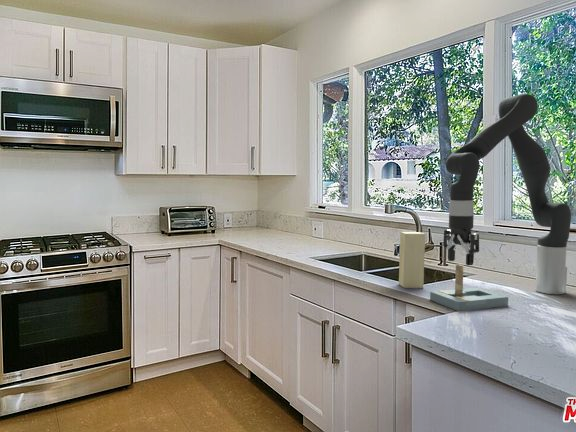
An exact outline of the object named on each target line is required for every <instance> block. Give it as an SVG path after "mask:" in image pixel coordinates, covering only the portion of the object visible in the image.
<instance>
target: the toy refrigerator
mask: <svg viewBox="0 0 576 432" xmlns="http://www.w3.org/2000/svg"><path fill="white" fill-rule="evenodd" d="M425 248H426V233H424V232H421V231H418V232H417V231H400V232H399V260H398V261H399V263H398V264H399V268H398V269H399V270H398V272H399V273H398V285H399V286H400V287H402V288H403V289H404V288H405V289H410V288H411V289H414V288H415V289H424V282H425V281H424V279H425V278H424V277H425V251H426V249H425Z"/></svg>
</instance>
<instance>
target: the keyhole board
mask: <svg viewBox="0 0 576 432" xmlns="http://www.w3.org/2000/svg"><path fill="white" fill-rule="evenodd" d="M429 292H430V293H429V294H430V295H429V300H430V301H432V302H435V303H437V304H439V305H442V306H445V307H446V308H450V309H452V310H454V311H456V312H461V311H462V312H463V311H473V310H479V309H482V310H483V309H489V308H499V307H500V308H501V307H508V306H509V296H507V295H506V296H505V295H503V294H500V293H497V292H493V291H490V290H486V289H484V288H480V287H469V288H468V287H467V288H463V296H462V297H459V296H458V297H455V288H454V289H446V290H445V289H444V290H441V289H440V290H434V291H433V290H432V291H429Z"/></svg>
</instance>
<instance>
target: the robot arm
mask: <svg viewBox="0 0 576 432" xmlns="http://www.w3.org/2000/svg"><path fill="white" fill-rule="evenodd" d="M538 108H539V104H538V100H537V99H536V97H535V96H534V95H533V94H530V93H529V94H528V93H524V94H517V95H513V96H508V97H505V98H503V99H501V100H500V102H499V103H498V107H497V111H498V117H499V119H498V120H496V121H495V122H493V123H491V124H489V125H488V126H487V127H485V128H483V129H482V130H480V131H479V132H478V133H477V134H476V135H475V136H474V137H472V139H471V140H470V141H469V142H468V143H466V144H464V145H463V146H461V147H459V148H458V149H456V150H455V151H454V152H452V153H450V155H449V156H448V157H447V159H446V161H445V170H446V171H447V172H448V173H449V174H451V175H455V176H457V175H458V176H459V175H460V176H459V179H458V181H456V182H453V183H452V184H451V185H450V191H449V192H450V194H449V198H450V199H449V200H450V201H449V207H448V228H449V229H444V231H443V242H442V245H443V248H446V249H447V260H448V261H450V262H454V261H455V259H456V250H455V249H456V247H457V246H458V245H459V246H461V247H462V248H463V249H464V251H465V253H466V254H465V265H466V266H473V265H474V259H475V257H474V256H475V254H476V253H479V252H480V234H479V233H472V229H473V228H474V215H475V213H474V212H475V210H474V207H475V206H474V187H475V184H476V181H477V179H478V178H477V177H478V175H479V171H480V160H482V159H483V158H485V157H487V156H488V154H489V153H491V151H492V150H494V148H496V147H497V146H498V145H499V144H500V143H501V142H502V141H503V140H504V139H506V138H507V137H508V139H509V142H510V144H511V146H512V150H513V152H514V155H515V157H516V158H515V159H516V163H517V164H518V168H519V170H520V173H521V176H522V179H523V181H524V184H525V187H526V191H527V194H528V198H529V204H530V207H531V212H532V213H531V214H532V217H533V219H534V221H535V223H536V225H538V226H540V227H543V228H544V227H545V228H550V230H549V233H547V234H545V235H543V236H539V237H538V238H537V247H536V270H535V271H536V272H535V288H534V289H535V291H536V292H539V293H542V294H546V295H564V294H565V293H567V278H568V277H567V274H568V267H567V266H566V261H567V244H568V241H569V239H570V230H571V221H572V211H571V208H570V206H569V204H567V203H564V202H552V201H551V202H550V201H549V200H548V197H547V194H546V185H547V182H548V179H549V176H550V172H551V165H550V162H549V160H548V155H547V153H546V151H545V150H544V148H543V146H541V145H540V144H539V143H538V142H537V141H536V140H534V138H532V137H531V136H530V135H529V133H528V132H527V131H526V129H525V127H524V124H526V123H528V122H529V121H530V120H532V119H533V118H534V117H535V116H536V114H537V112H538V110H539V109H538Z"/></svg>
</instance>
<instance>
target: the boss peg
mask: <svg viewBox="0 0 576 432" xmlns="http://www.w3.org/2000/svg"><path fill="white" fill-rule="evenodd" d="M464 266H465V265H464V264H455V278H454V279H455V281H454V289H455V297H458V296H459V297H462V296H463V289H464V269H465V268H464Z"/></svg>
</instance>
